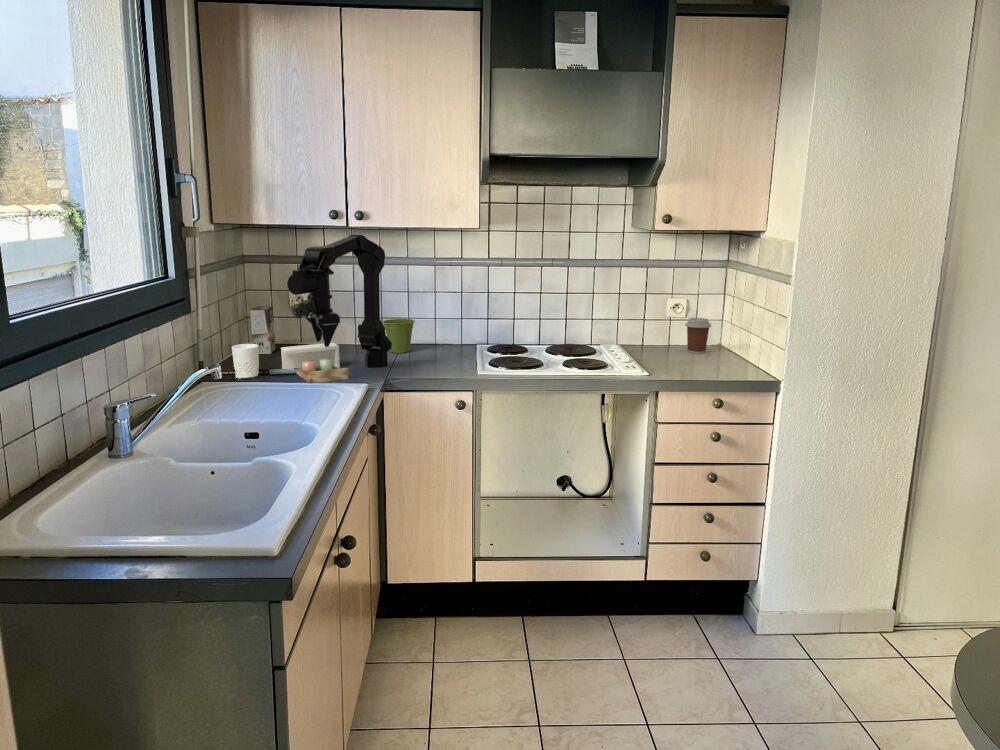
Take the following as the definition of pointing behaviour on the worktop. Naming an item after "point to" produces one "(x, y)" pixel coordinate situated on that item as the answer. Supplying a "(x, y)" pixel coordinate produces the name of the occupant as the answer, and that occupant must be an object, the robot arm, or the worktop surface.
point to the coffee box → (263, 329)
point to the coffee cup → (697, 334)
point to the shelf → (309, 355)
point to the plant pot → (399, 334)
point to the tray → (325, 375)
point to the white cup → (246, 360)
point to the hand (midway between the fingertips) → (322, 344)
